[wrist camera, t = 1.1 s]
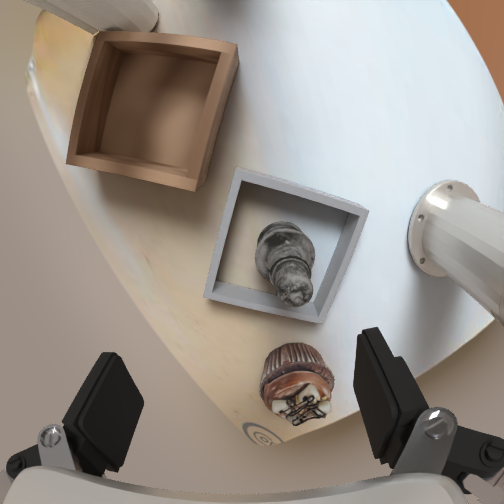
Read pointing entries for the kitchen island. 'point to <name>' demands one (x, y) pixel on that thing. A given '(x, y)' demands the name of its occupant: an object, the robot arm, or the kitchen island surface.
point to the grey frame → (334, 272)
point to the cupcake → (297, 383)
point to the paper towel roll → (104, 14)
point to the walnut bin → (152, 106)
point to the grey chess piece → (286, 262)
